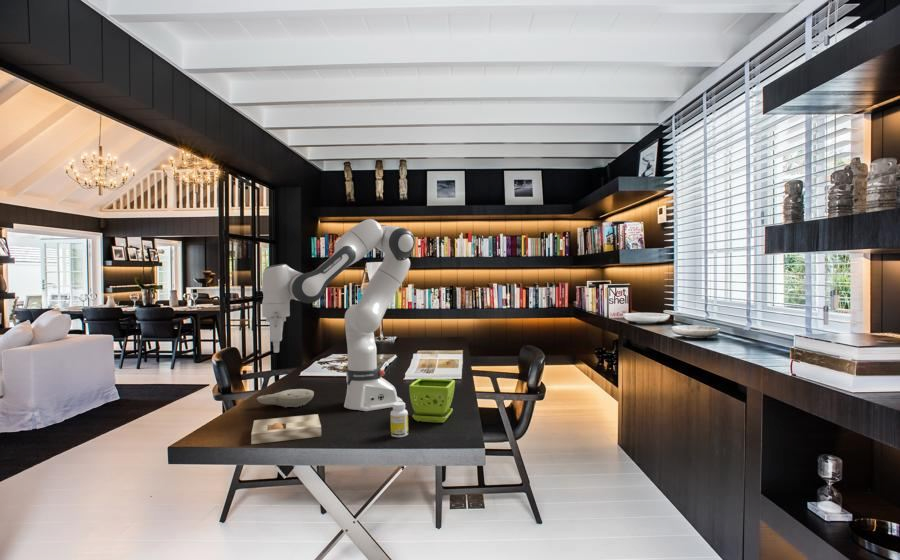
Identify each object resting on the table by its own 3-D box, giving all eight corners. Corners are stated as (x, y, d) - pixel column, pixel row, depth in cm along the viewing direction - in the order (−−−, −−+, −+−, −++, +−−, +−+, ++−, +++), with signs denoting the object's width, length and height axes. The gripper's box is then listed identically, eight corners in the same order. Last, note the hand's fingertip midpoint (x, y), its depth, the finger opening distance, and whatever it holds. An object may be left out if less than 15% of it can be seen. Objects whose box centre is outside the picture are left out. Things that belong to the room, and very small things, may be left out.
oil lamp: (256, 414, 173) (256, 400, 173) (257, 405, 187) (256, 392, 187) (315, 407, 181) (315, 394, 181) (312, 399, 195) (311, 387, 195)
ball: (283, 429, 146) (283, 438, 148) (283, 419, 149) (283, 427, 151) (269, 431, 145) (269, 439, 147) (269, 420, 148) (269, 429, 150)
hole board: (317, 422, 161) (317, 414, 161) (321, 436, 147) (321, 426, 147) (254, 429, 155) (254, 420, 155) (251, 444, 141) (251, 434, 141)
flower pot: (448, 425, 157) (448, 387, 157) (407, 423, 160) (407, 385, 160) (456, 414, 171) (456, 378, 171) (418, 412, 173) (418, 377, 173)
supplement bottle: (399, 431, 152) (399, 400, 152) (411, 434, 148) (411, 402, 148) (387, 435, 147) (386, 403, 147) (399, 438, 144) (399, 406, 144)
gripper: (286, 313, 154) (286, 355, 154) (285, 309, 173) (286, 347, 173) (265, 313, 151) (265, 357, 151) (267, 310, 171) (267, 348, 171)
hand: (276, 352), depth 162 cm, fingers closed
